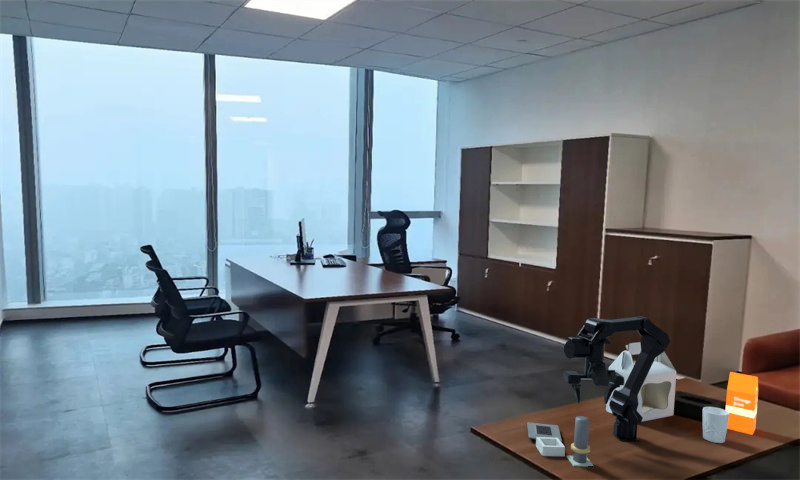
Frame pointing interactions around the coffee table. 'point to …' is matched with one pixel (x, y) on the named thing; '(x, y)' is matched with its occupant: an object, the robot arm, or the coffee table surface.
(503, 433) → the coffee table surface
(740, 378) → the orange juice
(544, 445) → the frame
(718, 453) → the coffee table surface
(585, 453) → the grey tapered rounded cylinder
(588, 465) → the rubber pad
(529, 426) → the electrical outlet
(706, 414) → the white cup
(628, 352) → the gable box
